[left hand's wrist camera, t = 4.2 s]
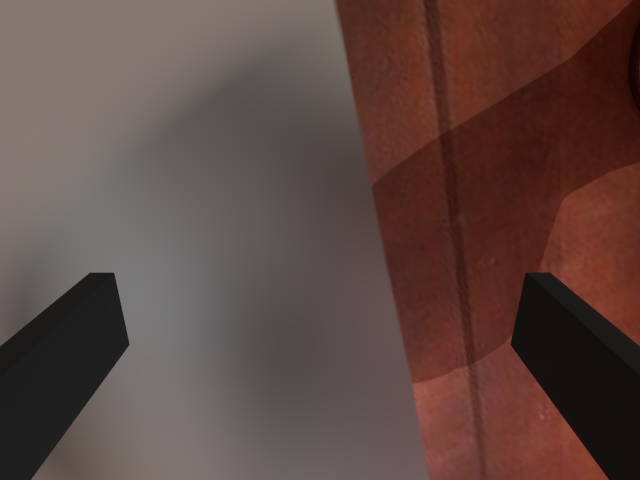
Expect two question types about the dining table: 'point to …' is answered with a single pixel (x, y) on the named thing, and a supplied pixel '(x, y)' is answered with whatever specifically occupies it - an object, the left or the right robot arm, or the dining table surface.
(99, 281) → the left robot arm
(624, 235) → the dining table surface
